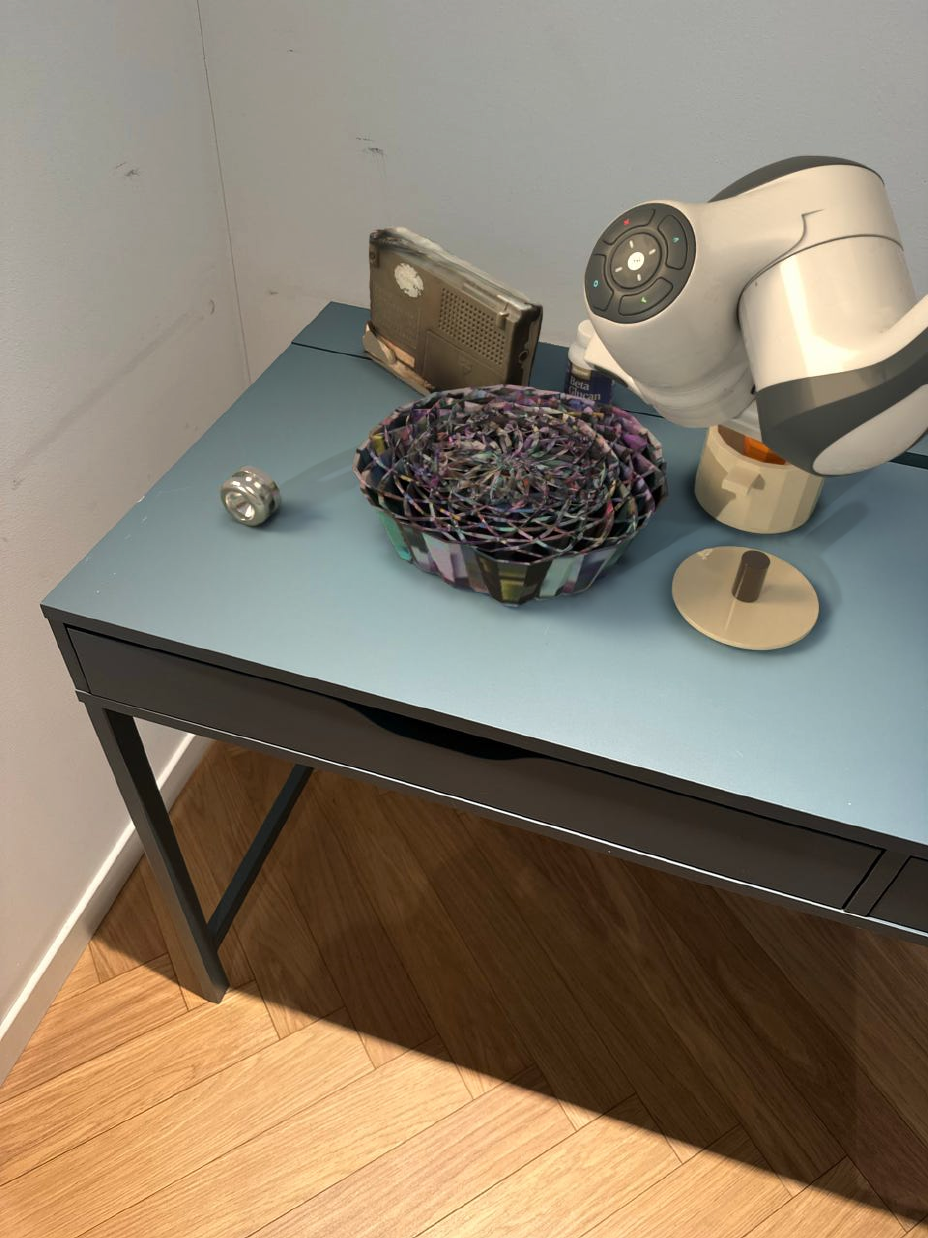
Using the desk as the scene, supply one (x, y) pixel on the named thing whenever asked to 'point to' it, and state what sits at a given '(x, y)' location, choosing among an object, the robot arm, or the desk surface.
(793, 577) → the pot lid
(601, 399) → the pill bottle
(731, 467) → the pot
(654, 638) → the desk surface
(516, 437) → the decorative bowl
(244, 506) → the metal grooved wheel
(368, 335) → the radio
